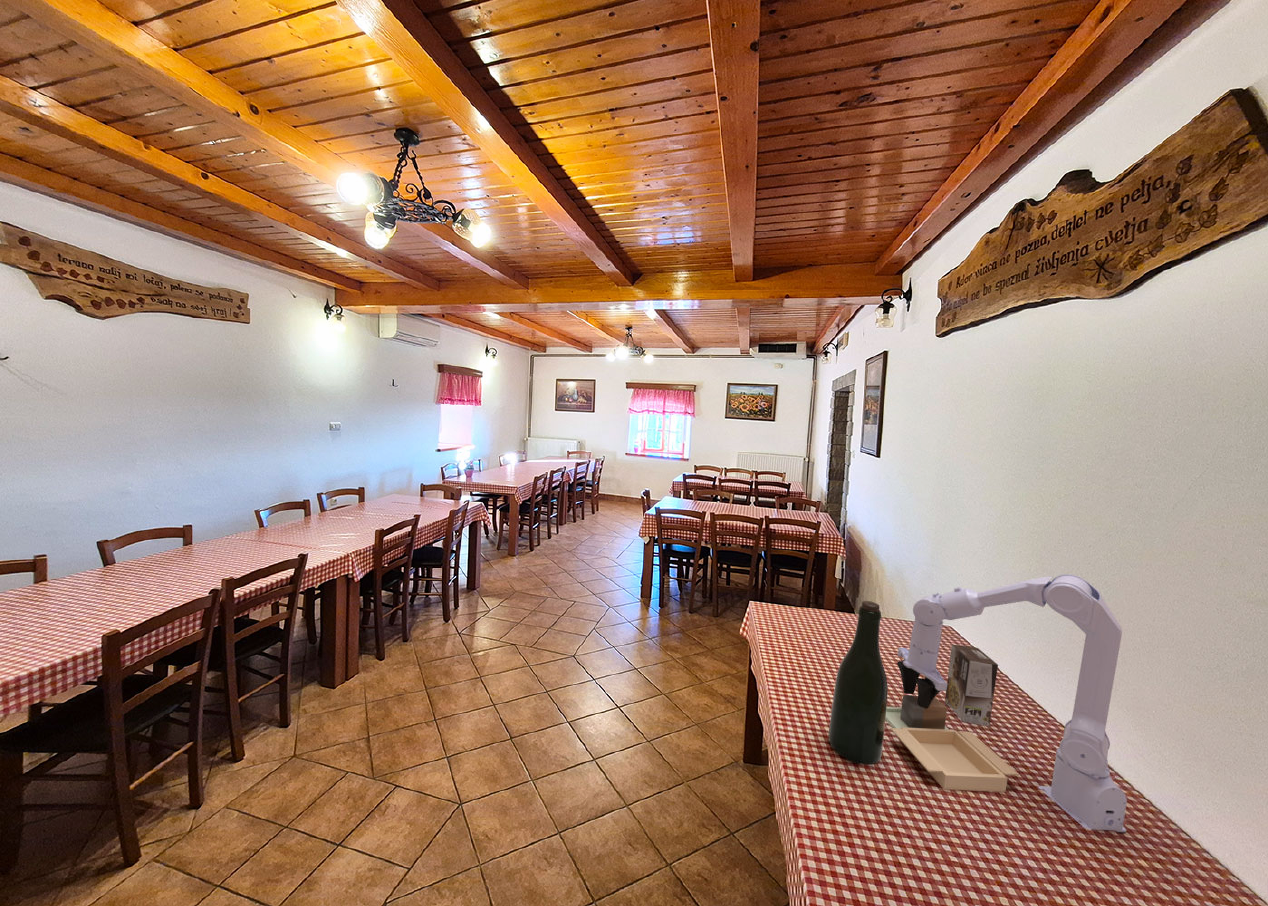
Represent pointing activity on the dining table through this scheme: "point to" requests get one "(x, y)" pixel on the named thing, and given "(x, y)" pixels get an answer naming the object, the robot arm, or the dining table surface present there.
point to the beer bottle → (861, 694)
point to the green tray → (896, 717)
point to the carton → (956, 759)
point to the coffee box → (971, 684)
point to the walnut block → (923, 713)
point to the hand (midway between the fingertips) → (915, 700)
